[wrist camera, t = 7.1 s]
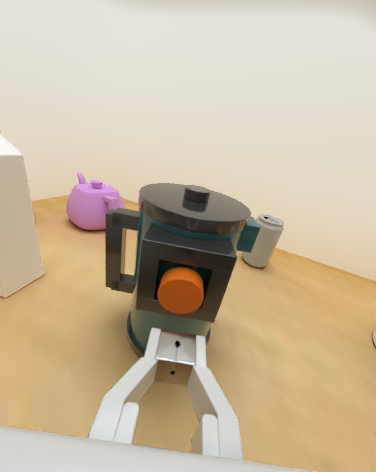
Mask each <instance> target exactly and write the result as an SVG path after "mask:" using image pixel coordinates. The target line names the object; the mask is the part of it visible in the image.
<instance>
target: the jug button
mask: <svg viewBox="0 0 376 472" xmlns="http://www.w3.org/2000/svg"><path fill="white" fill-rule="evenodd" d="M203 298H204V295H203V281H202V278H201V277H200V275H199V274H198V273H197V272H196V271H194V270H192V269H190V268H187V267H175V268H172V269H170V270H168V271H167V272H165V273H164V275H163V276H162V278H161V282H160V285H159V289H158V300H159V302H160V304H161V305H162V306H163V307H164V308H165V309H167V310H168V311H171V312H174V313H179V314H185V313H190V312H193V311H195V310H196V309H198V308H199V307H200V306H201V304H202V302H203Z"/></svg>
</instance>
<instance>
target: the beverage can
mask: <svg viewBox="0 0 376 472" xmlns="http://www.w3.org/2000/svg"><path fill="white" fill-rule="evenodd" d="M255 221H256V222H257V223H258V225H259V226H260V231H259V233H258V236H257V238H256V241H255V243H254V246H253V248H252V251H251V253H248V252H243V254H242V257H243V259H244V260H245V262H246V263H248V264H249V265H251V266H254V267H258V268H261V267H265V266H266V265H267V264H268V261H269V259H270V257H271V255H272V253H273V251H274V248H275V246H276V244H277V242H278V239H279V238H280V235H281V233H282V231H283V224H284V222H283V221H281V220H279V219H278V218H275V217H272V216H269V215H259V218H257V219H256V220H255Z"/></svg>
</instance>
